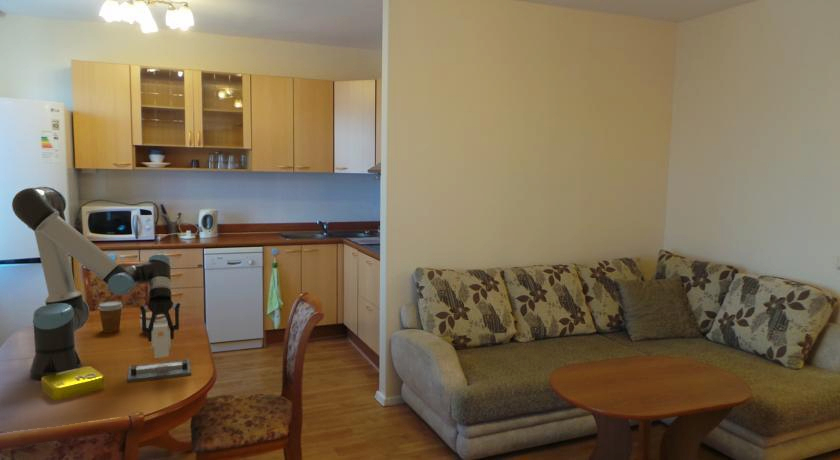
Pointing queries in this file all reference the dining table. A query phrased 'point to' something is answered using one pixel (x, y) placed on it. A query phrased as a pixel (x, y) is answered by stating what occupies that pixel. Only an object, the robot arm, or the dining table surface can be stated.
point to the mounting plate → (158, 370)
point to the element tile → (72, 382)
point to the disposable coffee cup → (110, 315)
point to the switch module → (161, 339)
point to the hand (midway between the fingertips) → (161, 347)
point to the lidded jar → (148, 318)
